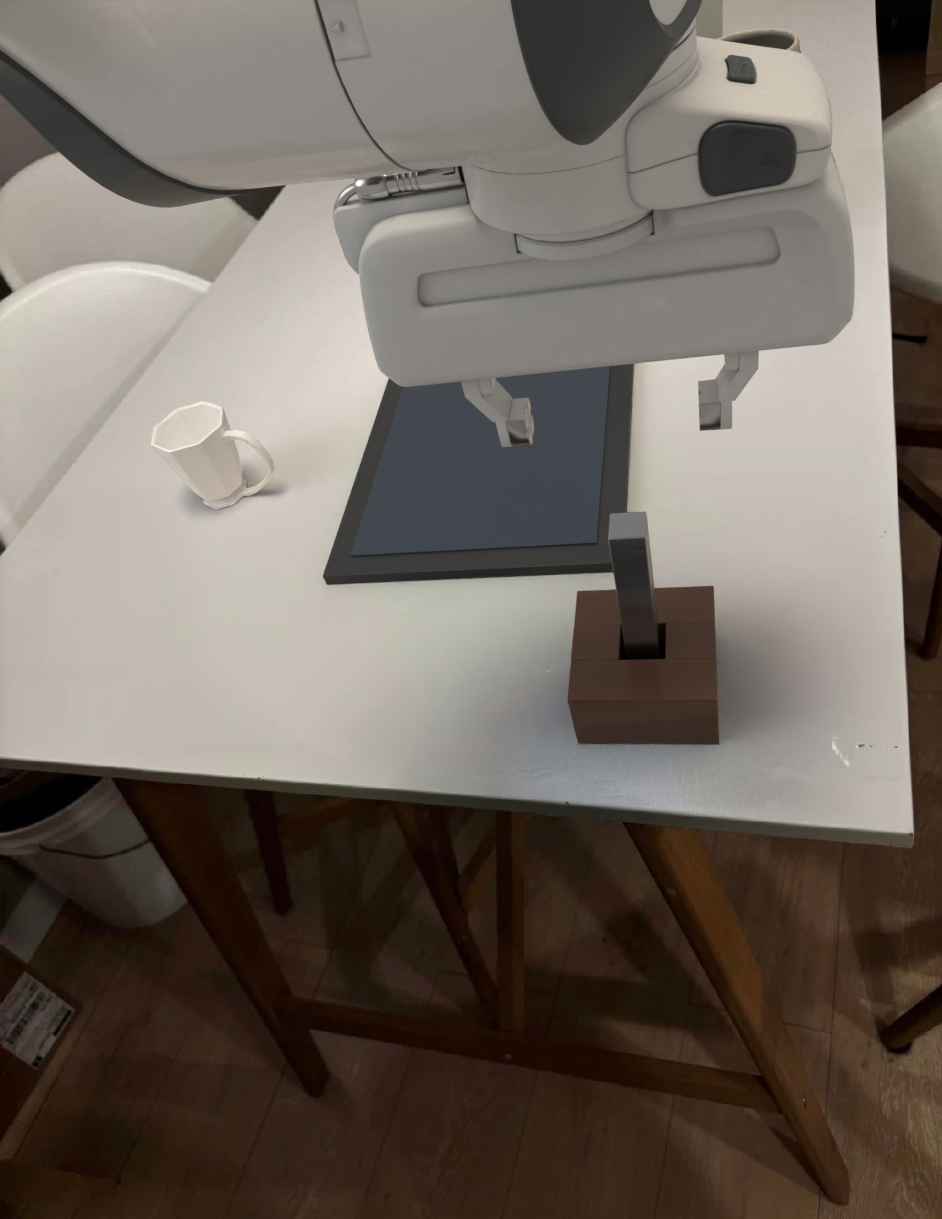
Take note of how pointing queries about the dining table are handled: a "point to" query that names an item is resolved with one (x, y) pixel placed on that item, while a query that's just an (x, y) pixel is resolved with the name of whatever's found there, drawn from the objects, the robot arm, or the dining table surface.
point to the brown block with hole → (645, 672)
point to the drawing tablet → (489, 483)
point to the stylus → (634, 584)
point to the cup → (207, 453)
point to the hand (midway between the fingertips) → (614, 430)
